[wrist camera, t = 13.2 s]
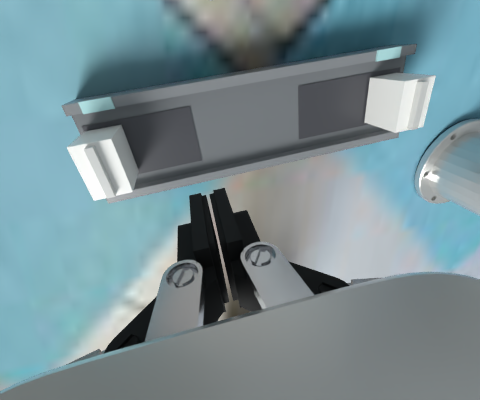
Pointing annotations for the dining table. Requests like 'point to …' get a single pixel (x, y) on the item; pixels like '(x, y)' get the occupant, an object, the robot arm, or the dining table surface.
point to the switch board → (243, 117)
